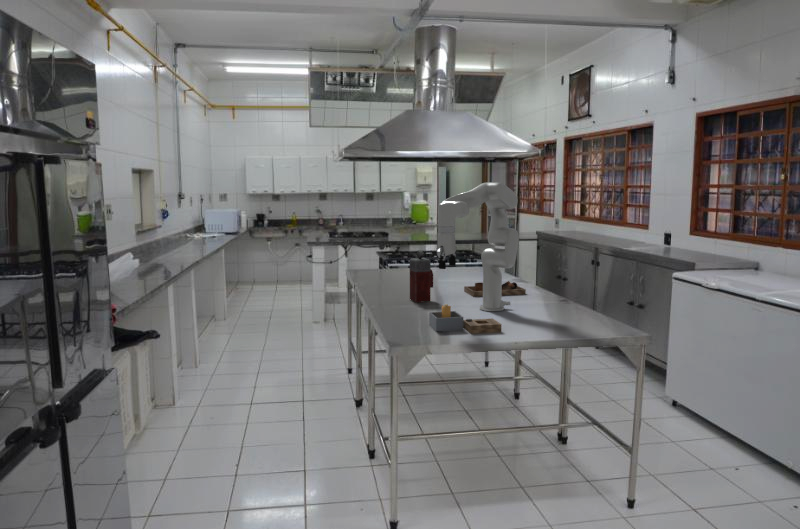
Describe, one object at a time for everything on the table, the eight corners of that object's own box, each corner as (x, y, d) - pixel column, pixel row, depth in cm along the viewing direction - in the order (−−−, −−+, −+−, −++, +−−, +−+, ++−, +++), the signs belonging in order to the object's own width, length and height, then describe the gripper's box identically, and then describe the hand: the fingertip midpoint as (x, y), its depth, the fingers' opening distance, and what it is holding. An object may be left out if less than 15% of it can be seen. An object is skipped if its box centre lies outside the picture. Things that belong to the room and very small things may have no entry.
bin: (455, 323, 262) (455, 311, 261) (463, 330, 250) (463, 317, 249) (429, 325, 259) (429, 312, 259) (436, 331, 247) (436, 318, 247)
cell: (449, 324, 257) (449, 303, 256) (451, 326, 253) (451, 305, 252) (440, 325, 256) (440, 303, 255) (442, 327, 252) (443, 305, 251)
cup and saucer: (489, 292, 340) (489, 281, 339) (492, 295, 328) (492, 285, 327) (469, 292, 340) (469, 281, 339) (471, 295, 328) (472, 285, 328)
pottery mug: (510, 296, 328) (503, 283, 329) (500, 301, 336) (493, 288, 337) (523, 289, 334) (516, 276, 335) (514, 293, 342) (507, 281, 343)
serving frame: (514, 289, 347) (514, 284, 347) (525, 294, 331) (525, 289, 330) (464, 291, 341) (464, 286, 341) (473, 296, 325) (473, 291, 324)
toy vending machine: (434, 301, 313) (434, 250, 310) (415, 302, 309) (415, 251, 306) (427, 298, 322) (427, 249, 318) (409, 299, 318) (409, 250, 314)
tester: (492, 326, 257) (492, 317, 257) (501, 332, 247) (501, 322, 246) (462, 327, 255) (463, 318, 254) (470, 333, 244) (470, 324, 243)
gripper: (448, 227, 266) (448, 263, 269) (430, 231, 252) (431, 269, 255) (462, 228, 262) (463, 264, 265) (445, 232, 248) (445, 270, 251)
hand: (447, 267), depth 260 cm, fingers open, 9 cm apart
